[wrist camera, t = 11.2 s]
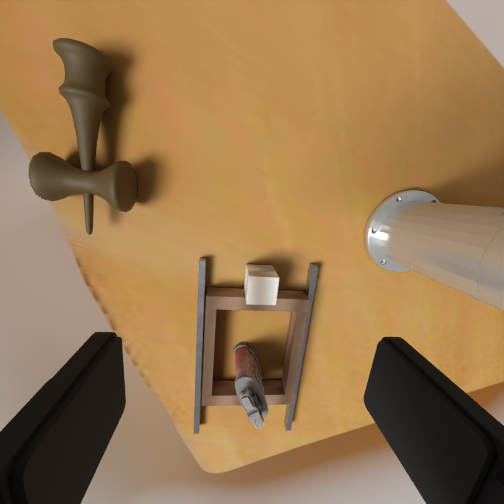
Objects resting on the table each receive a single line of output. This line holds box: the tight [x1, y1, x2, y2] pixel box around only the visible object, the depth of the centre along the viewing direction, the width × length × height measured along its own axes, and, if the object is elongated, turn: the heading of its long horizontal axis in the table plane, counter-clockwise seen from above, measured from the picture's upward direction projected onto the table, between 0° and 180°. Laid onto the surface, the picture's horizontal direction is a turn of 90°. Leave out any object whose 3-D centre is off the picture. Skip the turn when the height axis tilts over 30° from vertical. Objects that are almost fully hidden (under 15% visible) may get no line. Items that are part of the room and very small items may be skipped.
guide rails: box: [194, 258, 319, 434], centre depth 39 cm, size 18×32×2 cm, turn 175°
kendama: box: [29, 38, 137, 235], centre depth 27 cm, size 6×10×20 cm
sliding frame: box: [202, 264, 310, 406], centre depth 36 cm, size 15×23×5 cm, turn 175°
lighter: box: [234, 342, 268, 428], centre depth 35 cm, size 8×3×10 cm, turn 22°
